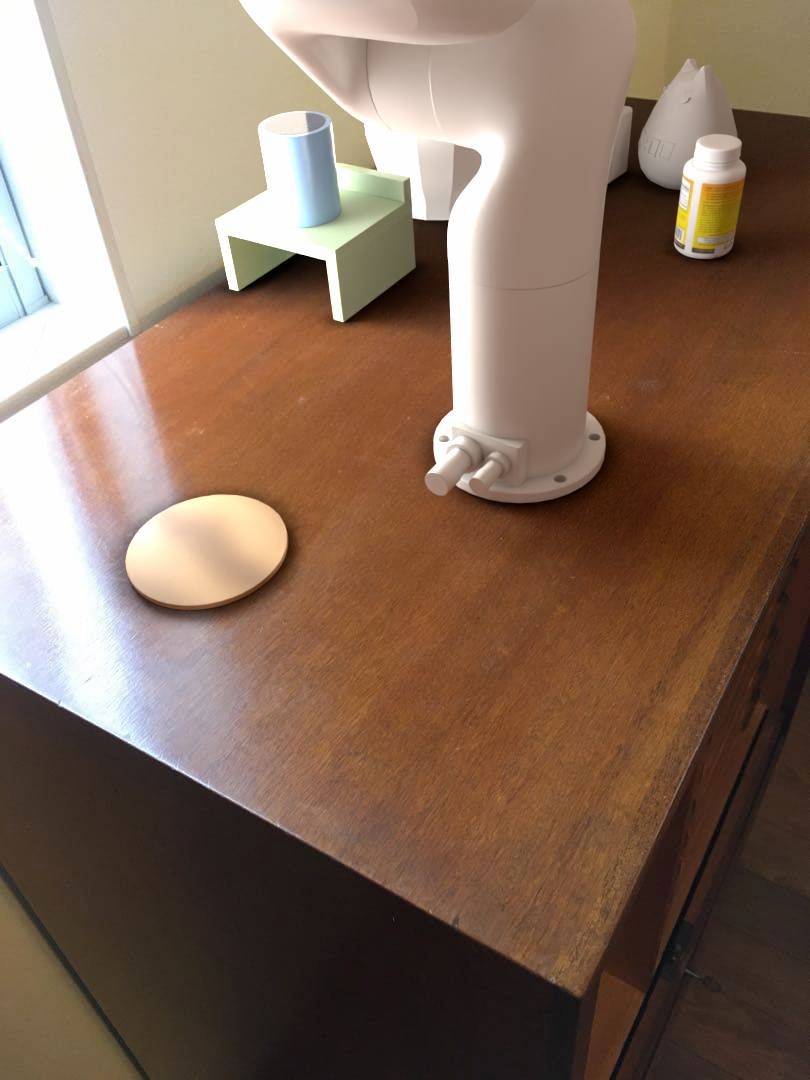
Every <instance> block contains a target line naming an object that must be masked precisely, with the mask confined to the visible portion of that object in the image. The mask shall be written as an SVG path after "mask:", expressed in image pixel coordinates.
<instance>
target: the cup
mask: <svg viewBox="0 0 810 1080" xmlns="http://www.w3.org/2000/svg"><path fill="white" fill-rule="evenodd" d="M333 129H334V128H333V121H332V117H330V116H329V115H327V114H326V113H323V112H318V111H313V110H297V111H289V112H284V113H282V112H281V113H279V114H276V115H273V116H270V117H268V118H266V119H264V120H263V121H261V122H260V123H259V125H258V127H257V131H258V137H259V142H260V143H259V144H260V148H261V149H260V150H261V154H262V160H263V166H264V172H265V179H266V184H267V185H266V186H267V190H268V191H269V197H270V204H271V210H272V216H273V219H274V220H275V222H277V223H278V224H280V225H283V226H286V227H292V228H308V227H315V226H319V225H323V224H326V223H328V222H330V221H332V220H334V219H336V218H337V217H338V216H339V215H340V213H341V210H342V208H341V200H340V191H339V182H338V173H337V164H336V162H337V156H336V148H335V147H336V146H335V138H334V130H333Z"/></svg>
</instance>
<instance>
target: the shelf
mask: <svg viewBox="0 0 810 1080" xmlns="http://www.w3.org/2000/svg"><path fill="white" fill-rule="evenodd" d="M336 164H337V173H338V182H339V191H340V200H341V208H342V210H341V213H340V215H339V216H338V217H337V218H336V219H334V220H332V221H330V222H328V223H326V224H323V225H319V226H315V227H308V228H292V227H286V226H283V225H280V224H278V223H277V222H275V220H274V219H273V216H272V210H271V204H270V197H269V191H268V189H267V190H265V191H263V192H261V193H259V194H258V195H256V196H254V197H252V198H251V199H249V200H247V201H246V202H244V203H242V204H240V205H238V206H237V207H235V208H234V209H232V210H230V211H228V212H226V213H225V214H223V215H221V216H219V217H218V218H216V219H214V223H215V227H216V231H217V234H218V240H219V244H220V248H221V249H220V250H221V253H222V259H223V263H224V268H225V273H226V278H227V281H228V282H227V283H228V287H229V290H233V291H236V292H240V291H242V290H243V289H244V288H245V287H247V286H248V285H250V284H252V283H254V282H255V281H256V280H258V279H260V278H261V277H263V276H264V275H266V274H267V273H268V272H271V270H273V269H274V268H276V267H278V266H279V265H280V264H282V263H283V262H284V263H285V261H287V260H288V259H290V258H291V257H293V256H294V255H296V254H299V255H304V256H308V257H311V258H315V259H318V260H323V261H325V263H326V271H327V279H328V286H329V294H330V302H331V310H332V318H333V320H334V321H336V322H337V321H338V322H341V323H345V322H346V321H347V320H349V319H350V318H352V317H353V316H354V315H356V314H357V313H358V312H359V311H360V310H362V309H363V308H365V307H366V306H367V305H368V304H370V303H371V302H373V301H374V300H375V299H376V298H378V297H379V296H381V294H383V293H384V292H386V291H387V290H388V289H389V288H390V287H391V288H392V286H393V285H395V284H396V283H397V282H398V281H400V280H401V279H403V278H404V277H406V276H407V275H408V274H409V273H410V272H412V271H413V270H414V269H415V268H416V267H417V265H416V250H415V238H414V237H415V235H414V234H415V233H414V218H413V215H412V198H411V182H410V177H407V176H402V175H397V174H392V173H387V172H382V171H378V169H373V168H368V167H363V166H358V165H353V164H352V165H351V164H347V163H343V162H338V161H336Z"/></svg>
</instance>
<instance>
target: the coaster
mask: <svg viewBox="0 0 810 1080" xmlns="http://www.w3.org/2000/svg"><path fill="white" fill-rule="evenodd" d="M288 548H289V534H288V531H287V526H286V524H285V522H284V520H283V518H282V517H281V515H280V514H279V513H278V512H276V511H275V509H274V508H272V507H271V506H270V505H268V504H266V503H265V502H262V501H260V500H258V499H255V498H252V497H248V496H243V495H237V494H210V495H204V496H199V497H194V498H190V499H187V500H184V501H182V502H179V503H177V504H173V505H171V506H170V507H168V508H166V509H164V510H163V511H160V512H159V513H157V514H156V515H155V516H153V517H152V518H150V519H149V520H148V521H147V522H146V523H144V524H143V526H141V528H139V530H138V531H137V532H136V533H135V535H134V536H133V538H132V540H131V541H130V543H129V545H128V548H127V551H126V554H125V561H124V562H125V571H126V575H127V577H128V580H129V582H130V584H131V585H132V587H133V588H134V590H135V591H136V592H137V593H138V594H139V595H141V596H142V597H143V598H145V599H146V600H148V602H151V603H154V604H155V605H158V606H161V607H165V608H168V609H175V610H184V611H194V610H195V611H196V610H197V611H198V610H206V609H213V608H217V607H221V606H225V605H228V604H231V603H234V602H236V601H238V600H239V601H240V600H241V599H244V598H245V597H247V596H249V595H251V594H252V593H254V592H256V591H257V590H259V589H260V588H261V587H263V586H264V585H265V584H267V583H268V582H269V581H270V580H271V579H272V578H273V577H274V575H276V573H277V572H278V571H279V569H280V568H281V566H282V565H283V563H284V561H285V559H286V556H287V553H288Z"/></svg>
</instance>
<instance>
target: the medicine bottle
mask: <svg viewBox="0 0 810 1080" xmlns="http://www.w3.org/2000/svg"><path fill="white" fill-rule="evenodd" d="M633 112H634V111H633V108H632V107H631V106H628V105H624V108H623V112H622V116H621V119H620V123H619V128H618V132H617V136H616V140H615V144H614V149H613V154H612V159H611V164H610V169H609V176H608V183H607V185H608V184H610V183H612V182H613V181H615V180H616V179H617V178H619V177H621V176H622V175H623V174H625V173H627V171H628V162H629V151H630V140H631V133H632V132H631V129H632V121H633Z"/></svg>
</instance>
